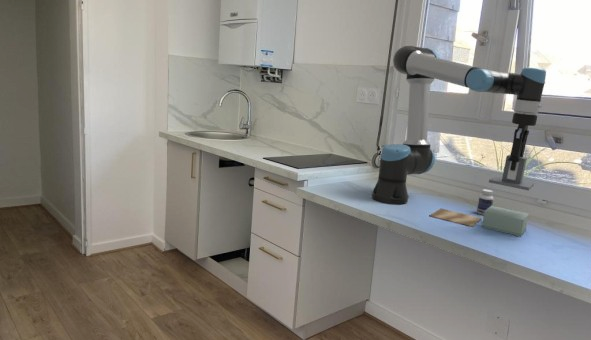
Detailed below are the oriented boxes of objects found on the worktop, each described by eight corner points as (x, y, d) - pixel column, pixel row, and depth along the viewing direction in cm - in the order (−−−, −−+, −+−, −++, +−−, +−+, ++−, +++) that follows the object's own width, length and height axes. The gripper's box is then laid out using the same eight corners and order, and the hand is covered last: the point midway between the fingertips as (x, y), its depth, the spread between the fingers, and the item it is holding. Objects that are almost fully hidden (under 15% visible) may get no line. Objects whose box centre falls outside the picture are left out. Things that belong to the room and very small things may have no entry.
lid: (488, 182, 157) (494, 155, 155) (495, 178, 165) (500, 152, 163) (528, 190, 149) (534, 162, 147) (533, 185, 158) (539, 158, 156)
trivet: (429, 216, 167) (429, 215, 167) (440, 209, 179) (441, 208, 179) (472, 227, 158) (472, 226, 158) (481, 219, 170) (481, 218, 169)
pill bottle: (492, 216, 175) (496, 192, 173) (477, 214, 176) (482, 191, 174) (488, 212, 180) (493, 189, 178) (475, 210, 181) (479, 188, 179)
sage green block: (481, 226, 160) (484, 211, 159) (488, 220, 169) (491, 205, 167) (520, 236, 152) (524, 220, 151) (526, 229, 161) (529, 213, 160)
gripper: (533, 115, 143) (519, 184, 148) (541, 114, 157) (527, 177, 162) (509, 112, 147) (495, 179, 152) (518, 111, 161) (506, 173, 166)
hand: (512, 178), depth 157 cm, fingers closed on lid, 4 cm apart
